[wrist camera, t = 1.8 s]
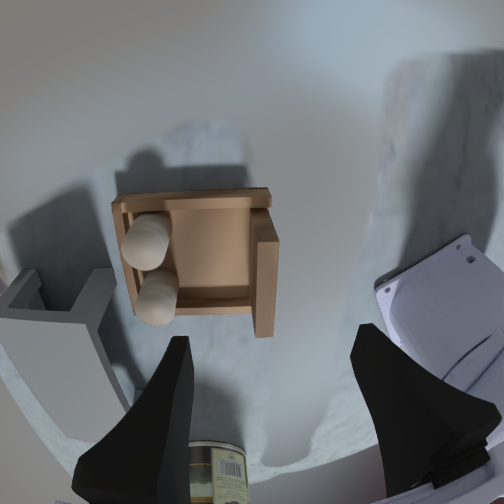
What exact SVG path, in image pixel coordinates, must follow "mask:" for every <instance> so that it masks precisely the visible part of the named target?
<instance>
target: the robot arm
mask: <svg viewBox="0 0 504 504" xmlns="http://www.w3.org/2000/svg"><path fill="white" fill-rule="evenodd" d="M457 245H458V246H457ZM386 288H388V289H386ZM385 289H386V290H385ZM375 296H376V299H377V302H378V304H379V307H380V310H381V313H382V316H383V319H384V322H385V325H386V328H387V331H388V334H389V337H390V339H389V338H388V337H387V336H386V335H385V334H384V333H383V332H382V331H380V330H379V329H378V328H377V327H376V326H375V325H374V324H373V323H369V324H361V325H360V326H359V329H358V332H357V336H356V339H355V342H354V345H353V349H352V352H351V355H350V359H351V363H352V367H353V371H354V374H355V377H356V380H357V382H358V385H359V387H360V390H361V392H362V395H363V397H364V399H365V402H366V404H367V407H368V409H369V412H370V414H371V417H372V420H373V423H374V426H375V430H376V434H377V438H378V442H379V446H380V451H381V456H382V462H383V467H384V474H385V483H386V495H387V499H384V500H381V501H377V502H374V503H371V504H489V503H491V502H492V501H494V500H495V499H497V498H498V497H504V272H503V271H502V270H501V269H500V268H499V267H498V266H496V265H495V264H494V263H493V262H492V261H491V260H490V259H489V258H487V257H486V256H485V255H484V254H483V253H482V252H480V251H479V250H478V249H477V248H476V247H475V246H473V245H472V242H471V237H470V236H469V235H468V234H465V235H463V236H461V237H460V238H458V239H457V240H455V241H454V242H452V243H451V244H449V245H447V246H446V247H444V248H443V249H441V250H439V251H438V252H436V253H435V254H433V255H431V256H430V257H428V258H426V259H425V260H423V261H422V262H420V263H418V264H416V265H415V266H413V267H411V268H410V269H408V270H406V271H405V272H403V273H401V274H399V275H398V276H396V277H394V278H392V279H391V280H389V281H387V282H385V283H384V284H382V285H380V286H378V287H377V288H376V289H375ZM401 345H404V347H405V348H406V350H407V352H408V354H409V355H410V357H409V356H408V355H407V354H406V353H405V352H404V351H402V350H401V349H400V348H399V346H401ZM193 394H194V366H193V360H192V355H191V349H190V343H189V336H173V337H172V338H171V340H170V343H169V345H168V347H167V350H166V352H165V354H164V356H163V358H162V360H161V362H160V364H159V365H158V367H157V369H156V371H155V373H154V374H153V376H152V378H151V379H150V381H149V383H148V384H147V386H146V387H145V389H144V390H143V392H142V393H141V395H140V396H139V398H138V399H137V400H136V402H135V403H134V404H133V406H132V407H131V408H130V410H129V411H128V412H127V413H126V414H125V415H124V417H123V418H122V419H121V420H120V421H119V422H118V423H117V425H116V426H115V427H114V428H113V429H112V430H111V431H109V432H108V433H107V434H106V435H105V436H104V437H103V438H102V439H101V440H100V441H99V442H98V443H97V444H95V445H94V446H93V447H92V448H90V449H89V450H88V451H87V452H85V453H84V454H83V455H81V456H80V457H79V459H78V462H77V464H76V467H75V470H74V475H73V480H72V486H71V487H72V490H73V491H74V492H75V493H76V494H77V495H79V496H80V497H82V498H83V499H84V500H86V501H87V502H89V504H191V495H190V477H189V431H190V421H191V412H192V403H193ZM54 504H70V503H66V502H62V501H59V500H55V503H54Z"/></svg>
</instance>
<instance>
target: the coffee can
mask: <svg viewBox="0 0 504 504" xmlns="http://www.w3.org/2000/svg"><path fill="white" fill-rule="evenodd" d="M189 477H190V495H191V504H251V503H250V495H249V484H248V475H247V465H246V453H245V451H243V450H242V449H241V448H239V447H237V446H234V445H231V444H227V443H222V442H213V441H194V442H189Z"/></svg>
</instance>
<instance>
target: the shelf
mask: <svg viewBox="0 0 504 504" xmlns="http://www.w3.org/2000/svg"><path fill="white" fill-rule="evenodd" d="M41 285H42V283H41V280H40V277H39V274H38V272H37V269H23V270H22V271H21V272H20V273H19V275H18V276H17V277H16V278H15V279H14V281H13V282H12V283H11V284H10V286H9V287H8V288H7V289H6V291H5V292H4V293H3V295H2V296H1V297H0V343H1V344H2V346H3V348H4V350H5V351H6V353H7V355H8V356H9V358H10V360H11V361H12V363H13V365H14V366H15V368H16V369H17V371H18V373H19V374H20V376H21V377H22V379H23V380H24V382H25V383H26V385H27V386H28V387H29V389H30V390H31V392H32V393H33V395H34V396H35V397H36V399H37V400H38V402H39V403H40V404H41V406H42V407H43V408H44V410H45V411H46V412H47V413H48V415H49V416H50V417H51V419H52V420H53V421H54V422H55V424H56V425H57V426H58V427H59V428H60V430H61V431H62V432H63V433H64V434H65V436H66V437H67V438H70V439H75V440H81V441H86V442H92V443H98V442H99V441H100V440H101V439H102V438H103V437H104V436H105V435H106V434H107V433H108V432H109V431H111V430H112V429H113V428H114V427H115V426H116V425H117V423H118V422H119V421H120V420H121V419H122V418H123V417H124V415H125V414H126V413H127V412H128V411H129V410H130V405H129V403H128V401H127V399H126V397H125V395H124V393H123V391H122V389H121V387H120V384H119V382H118V380H117V378H116V376H115V373H114V371H113V369H112V366H111V364H110V362H109V359H108V357H107V355H106V352H105V350H104V347H103V345H102V342H101V340H100V337H99V334H98V332H97V330H98V327H99V325H100V322H101V320H102V318H103V315H104V313H105V310H106V308H107V306H108V303H109V301H110V299H111V296H112V294H113V292H114V289H115V287H116V285H117V283H116V279H115V275H114V271H113V267H103V268H94V269H93V271H92V273H91V275H90V276H89V278H88V280H87V281H86V283H85V285H84V287H83V289H82V290H81V292H80V294H79V296H78V297H77V299H76V301H75V303H74V305H73V307H72V309H71V310H70V312H68V311H46V308H45V306H44V303H43V301H42V298H41V296H40V293H39V290H38V289H39V288H40V286H41ZM142 392H143V390H136V391H135V396H134V402H133V404H134V403H135V402H136V400H137V399H138V398H139V396H140V395H141V393H142Z"/></svg>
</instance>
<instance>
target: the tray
mask: <svg viewBox="0 0 504 504" xmlns="http://www.w3.org/2000/svg"><path fill="white" fill-rule="evenodd" d="M271 205H272V197H271V194H270V192H269V189H268V188H267V187H251V189H230V190H199V191H176V192H158V193H142V194H127V195H118V196H117V197H116V199H115V200H114V201H113V202H112V203H111V207H112V213H113V219H114V225H115V230H116V236H117V241H118V246H119V251H120V256H121V261H122V266H123V270H124V275H125V279H126V284H127V288H128V292H129V296H130V300H131V304H132V308H133V312H134V315H137V316H138V318H139V319H140V320H141V321H143V322H144V323H146V324H148V325H151V326H164V325H166V324H168V323H170V322H171V321H172V319H173V317H174V315H215V314H243V313H252V317H253V324H254V332H255V338H262V337H273V330H274V316H275V303H276V289H277V273H278V257H279V239H278V236H277V234H276V231H275V229H274V226H273V223H272V220H271V217H270V214H269V207H271Z"/></svg>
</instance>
